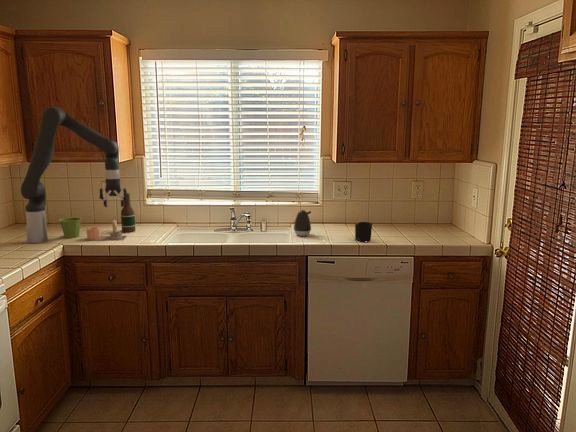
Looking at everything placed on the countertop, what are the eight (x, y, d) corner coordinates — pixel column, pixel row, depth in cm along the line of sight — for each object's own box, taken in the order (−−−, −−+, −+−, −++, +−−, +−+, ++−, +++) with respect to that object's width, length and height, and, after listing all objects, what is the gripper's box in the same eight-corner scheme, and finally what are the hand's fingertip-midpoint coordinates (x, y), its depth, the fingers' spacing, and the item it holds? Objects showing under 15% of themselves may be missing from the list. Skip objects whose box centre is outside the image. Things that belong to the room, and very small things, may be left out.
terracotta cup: (86, 240, 252) (85, 229, 251) (89, 237, 258) (88, 227, 257) (98, 239, 253) (97, 229, 252) (101, 237, 259) (100, 226, 258)
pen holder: (352, 238, 265) (353, 221, 263) (368, 238, 266) (369, 221, 264) (356, 242, 256) (357, 225, 254) (373, 242, 257) (374, 225, 255)
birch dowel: (113, 238, 256) (111, 221, 254) (114, 237, 258) (112, 220, 256) (117, 238, 256) (115, 221, 254) (118, 237, 258) (116, 220, 256)
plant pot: (83, 235, 267) (81, 216, 265) (83, 239, 257) (82, 220, 255) (60, 237, 262) (58, 217, 260) (60, 241, 252) (58, 221, 250)
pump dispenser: (313, 236, 269) (314, 211, 266) (297, 237, 266) (297, 212, 263) (307, 232, 279) (308, 208, 276) (291, 233, 276) (291, 209, 273)
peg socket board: (83, 243, 250) (82, 235, 249) (89, 238, 260) (88, 231, 260) (123, 242, 253) (123, 235, 252) (127, 237, 263) (127, 230, 263)
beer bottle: (121, 234, 270) (118, 194, 265) (123, 231, 277) (120, 192, 273) (134, 234, 271) (132, 194, 267) (136, 231, 279) (134, 192, 274)
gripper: (97, 178, 246) (99, 208, 249) (124, 178, 248) (126, 208, 251) (100, 176, 253) (102, 205, 256) (127, 177, 255) (128, 205, 258)
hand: (114, 206), depth 254 cm, fingers open, 8 cm apart
